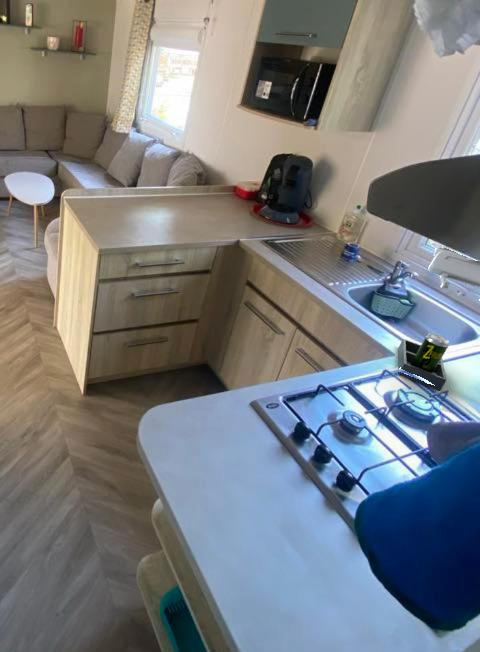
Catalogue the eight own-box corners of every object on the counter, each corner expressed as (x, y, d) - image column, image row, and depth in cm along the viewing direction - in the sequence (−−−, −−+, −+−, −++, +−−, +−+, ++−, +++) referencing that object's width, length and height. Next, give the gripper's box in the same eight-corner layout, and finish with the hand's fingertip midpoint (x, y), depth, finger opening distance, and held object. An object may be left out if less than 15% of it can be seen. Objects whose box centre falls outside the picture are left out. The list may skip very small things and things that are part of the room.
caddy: (434, 362, 130) (441, 352, 129) (439, 391, 117) (446, 380, 115) (397, 348, 135) (403, 338, 133) (398, 374, 122) (404, 363, 120)
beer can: (406, 364, 126) (424, 330, 121) (426, 370, 124) (446, 336, 119) (411, 374, 121) (430, 340, 116) (432, 381, 119) (453, 346, 114)
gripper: (440, 240, 131) (424, 276, 128) (526, 264, 121) (511, 304, 117) (433, 250, 137) (418, 285, 133) (515, 273, 126) (501, 312, 122)
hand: (463, 294), depth 125 cm, fingers open, 8 cm apart
